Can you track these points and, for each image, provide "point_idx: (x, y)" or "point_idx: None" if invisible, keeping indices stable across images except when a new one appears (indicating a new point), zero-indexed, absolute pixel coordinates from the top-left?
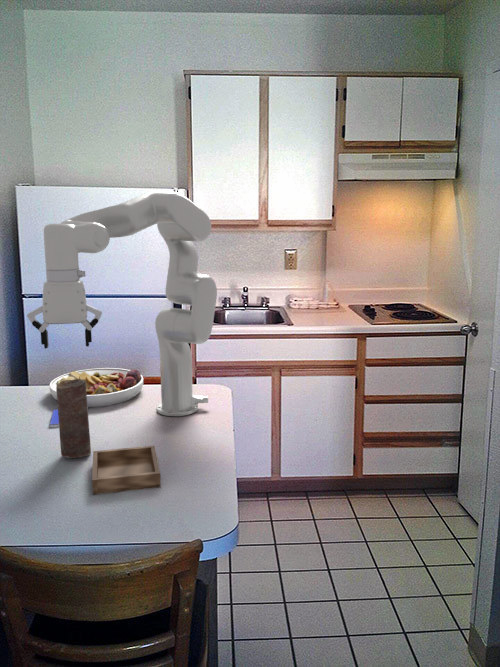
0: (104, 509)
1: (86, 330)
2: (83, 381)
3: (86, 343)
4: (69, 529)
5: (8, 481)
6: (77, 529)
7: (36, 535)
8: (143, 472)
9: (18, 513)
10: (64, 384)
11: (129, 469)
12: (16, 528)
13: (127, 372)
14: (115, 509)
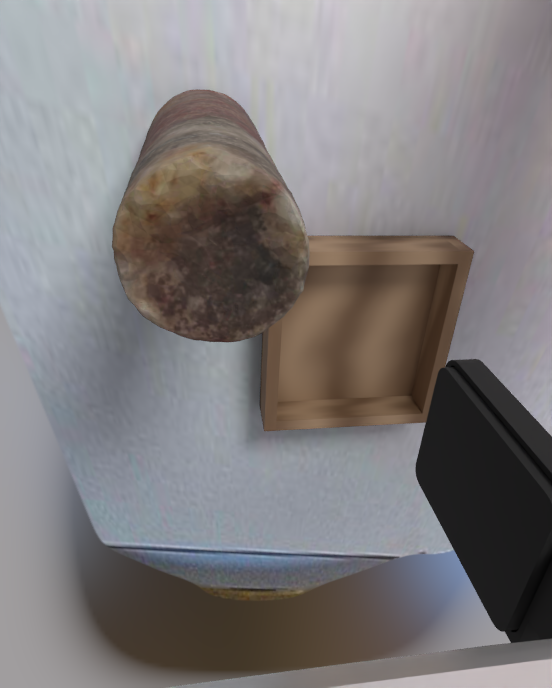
0: (282, 463)
1: (530, 636)
2: (297, 278)
3: (434, 502)
4: (213, 514)
5: (7, 298)
6: (228, 516)
7: (152, 524)
8: (396, 341)
9: (93, 456)
10: (166, 239)
11: (364, 317)
12: (106, 503)
13: None
14: (304, 465)
